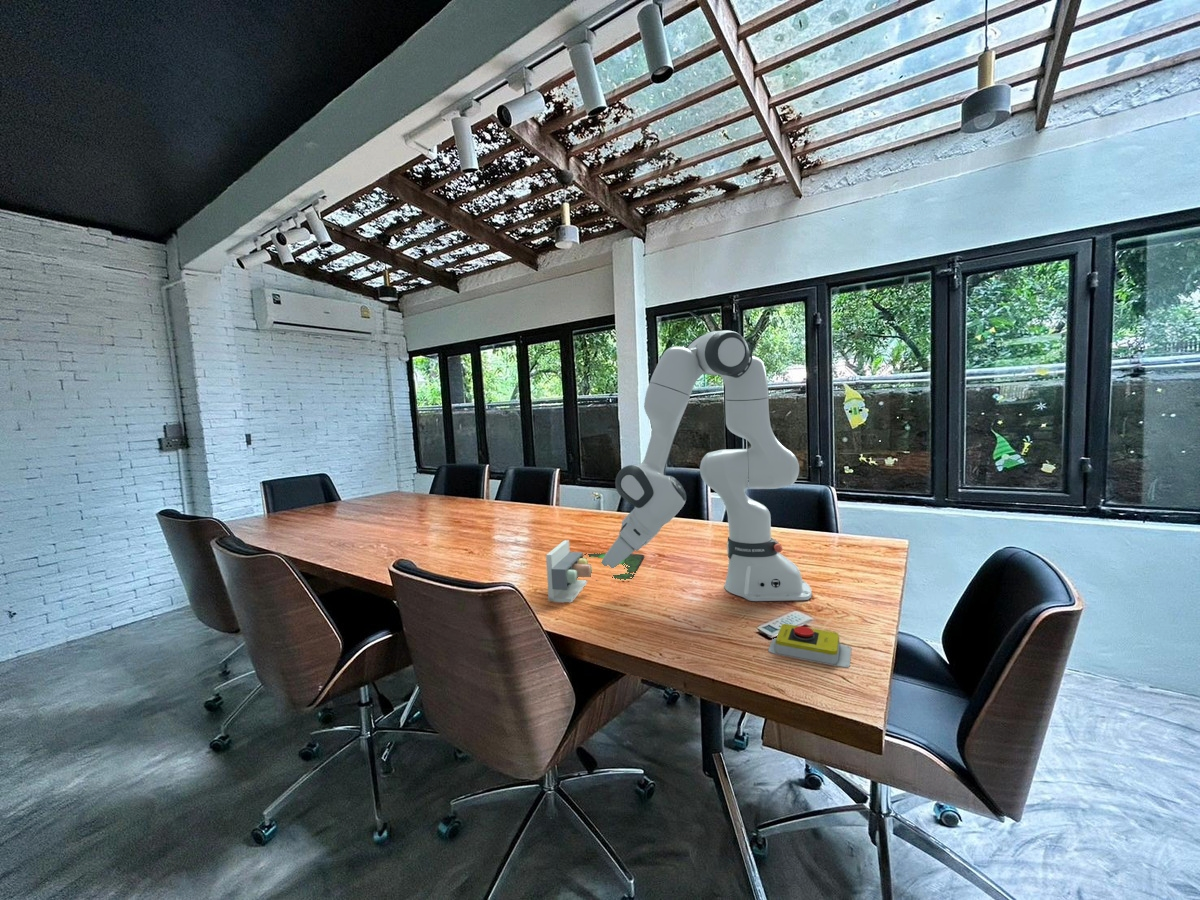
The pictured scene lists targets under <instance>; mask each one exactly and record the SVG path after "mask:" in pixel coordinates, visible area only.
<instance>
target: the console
mask: <svg viewBox="0 0 1200 900" xmlns="http://www.w3.org/2000/svg"><path fill="white" fill-rule="evenodd" d="M545 555H546V556H545V561H546V576H547V577H546V578H547V580H546V581H547V593H548V595H547V597H548V602H549V601H553V602H552V603H564V602H569V603H568V604H572V603H573V601H575V599H576V598H577V596H578V595H579V594H580V593H581V592H582V590H583V589H584V588H585V587H584V586H586V585H587V584H588V581H587V580H577V581H576V583H567V575H566V571H567V570H568V569H569V570H573V569H572V565H573V564H578V559H579V558H583V556H584V552H583V551H581V552H579V551H570V540H569V539H564V540H563V541H562V542H560V543H559V544H558V545H556V546H555V547H554V548H553V549H552V550H550V551H549V552H548V553H547V554H545ZM577 578H578V577H577ZM583 587H584V588H583ZM571 602H572V603H571Z"/></svg>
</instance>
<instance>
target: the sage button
mask: <svg viewBox="0 0 1200 900" xmlns="http://www.w3.org/2000/svg"><path fill="white" fill-rule="evenodd" d="M566 575H567V583H576V581H577V570H569V569H568V570H567V571H566Z"/></svg>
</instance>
